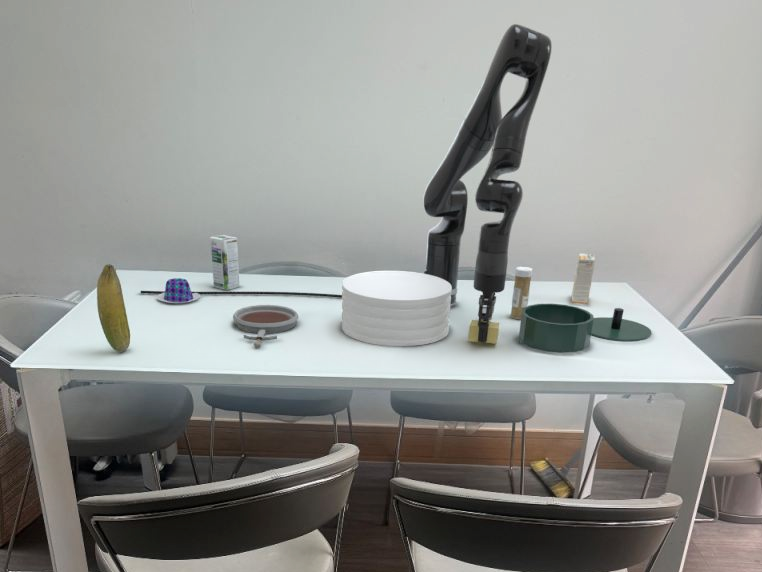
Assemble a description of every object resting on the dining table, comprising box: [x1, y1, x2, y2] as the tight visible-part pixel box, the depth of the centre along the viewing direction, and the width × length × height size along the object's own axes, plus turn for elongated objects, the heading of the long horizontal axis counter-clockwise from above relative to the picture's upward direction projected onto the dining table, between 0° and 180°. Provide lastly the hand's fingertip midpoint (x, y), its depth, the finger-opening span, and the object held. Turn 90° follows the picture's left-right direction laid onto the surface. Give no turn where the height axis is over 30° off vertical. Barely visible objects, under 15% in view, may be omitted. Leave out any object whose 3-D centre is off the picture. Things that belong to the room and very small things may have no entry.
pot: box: [518, 303, 595, 354], centre depth 193 cm, size 18×18×8 cm
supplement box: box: [570, 253, 596, 305], centre depth 225 cm, size 8×5×13 cm, turn 168°
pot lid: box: [591, 307, 652, 342], centre depth 202 cm, size 19×19×6 cm
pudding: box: [156, 277, 201, 304], centre depth 215 cm, size 12×12×5 cm
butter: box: [467, 319, 501, 345], centre depth 191 cm, size 7×4×4 cm, turn 78°
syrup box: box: [209, 234, 241, 291], centre depth 225 cm, size 6×6×14 cm
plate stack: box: [341, 270, 452, 347], centre depth 197 cm, size 28×28×12 cm
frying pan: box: [232, 304, 299, 349], centre depth 195 cm, size 17×3×28 cm
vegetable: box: [96, 263, 131, 353], centre depth 174 cm, size 6×6×20 cm
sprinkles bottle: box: [510, 266, 533, 320], centre depth 209 cm, size 5×5×14 cm
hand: (483, 338), depth 192 cm, fingers closed on butter, 4 cm apart
